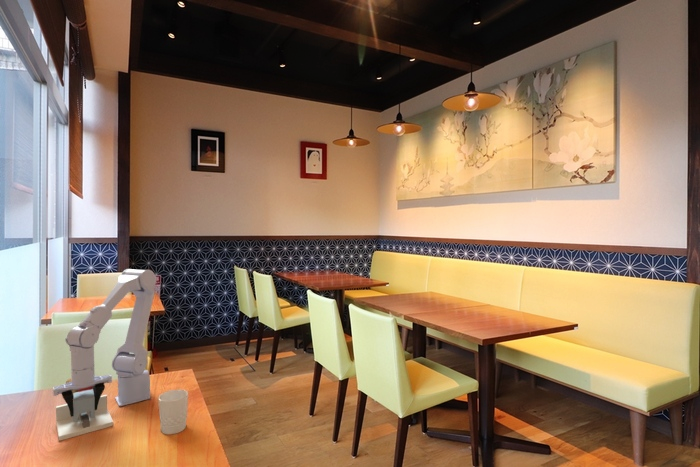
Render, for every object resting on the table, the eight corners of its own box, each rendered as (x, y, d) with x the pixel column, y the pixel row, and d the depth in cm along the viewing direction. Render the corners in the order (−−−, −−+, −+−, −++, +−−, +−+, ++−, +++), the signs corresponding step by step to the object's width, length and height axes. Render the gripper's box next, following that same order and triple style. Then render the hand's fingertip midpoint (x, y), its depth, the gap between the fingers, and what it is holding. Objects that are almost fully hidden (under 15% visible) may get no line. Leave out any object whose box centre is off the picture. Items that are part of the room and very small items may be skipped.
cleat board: (106, 410, 128) (106, 394, 127) (113, 425, 118) (112, 408, 118) (56, 423, 119) (55, 406, 119) (58, 440, 110) (58, 422, 110)
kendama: (55, 395, 142) (78, 400, 132) (58, 376, 143) (80, 380, 133) (80, 391, 148) (103, 396, 138) (82, 373, 149) (105, 377, 139)
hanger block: (93, 408, 123) (93, 389, 123) (94, 417, 117) (94, 397, 117) (73, 412, 120) (73, 392, 120) (73, 422, 114) (73, 401, 114)
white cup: (194, 424, 119) (193, 391, 119) (174, 438, 112) (174, 402, 111) (173, 420, 122) (172, 387, 121) (152, 433, 114) (152, 398, 114)
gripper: (108, 358, 127) (108, 400, 127) (51, 369, 117) (52, 414, 118) (112, 364, 122) (113, 407, 122) (53, 376, 112) (55, 423, 112)
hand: (83, 411), depth 120 cm, fingers closed on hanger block, 5 cm apart
